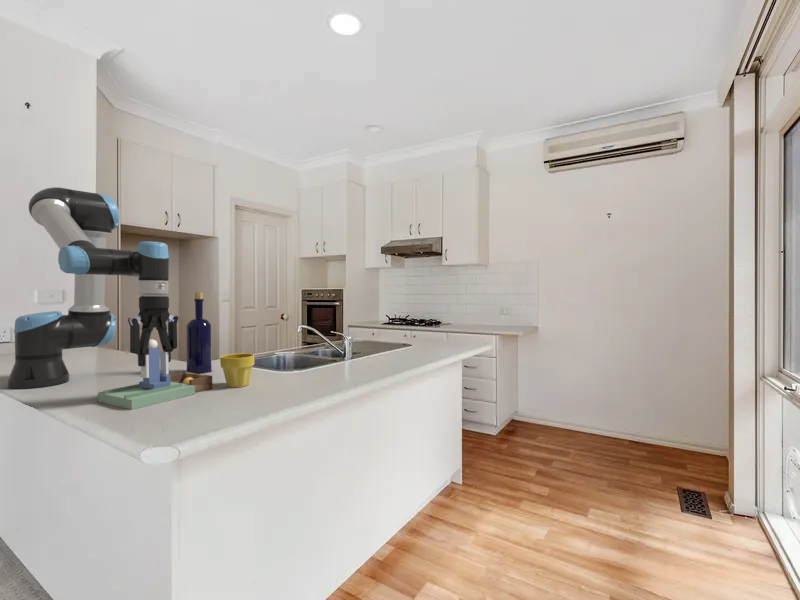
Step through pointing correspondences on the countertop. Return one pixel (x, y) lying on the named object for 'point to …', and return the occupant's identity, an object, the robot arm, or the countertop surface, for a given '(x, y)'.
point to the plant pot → (237, 368)
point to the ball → (187, 380)
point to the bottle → (199, 341)
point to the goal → (193, 380)
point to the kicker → (154, 369)
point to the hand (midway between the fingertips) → (155, 375)
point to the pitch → (144, 395)
